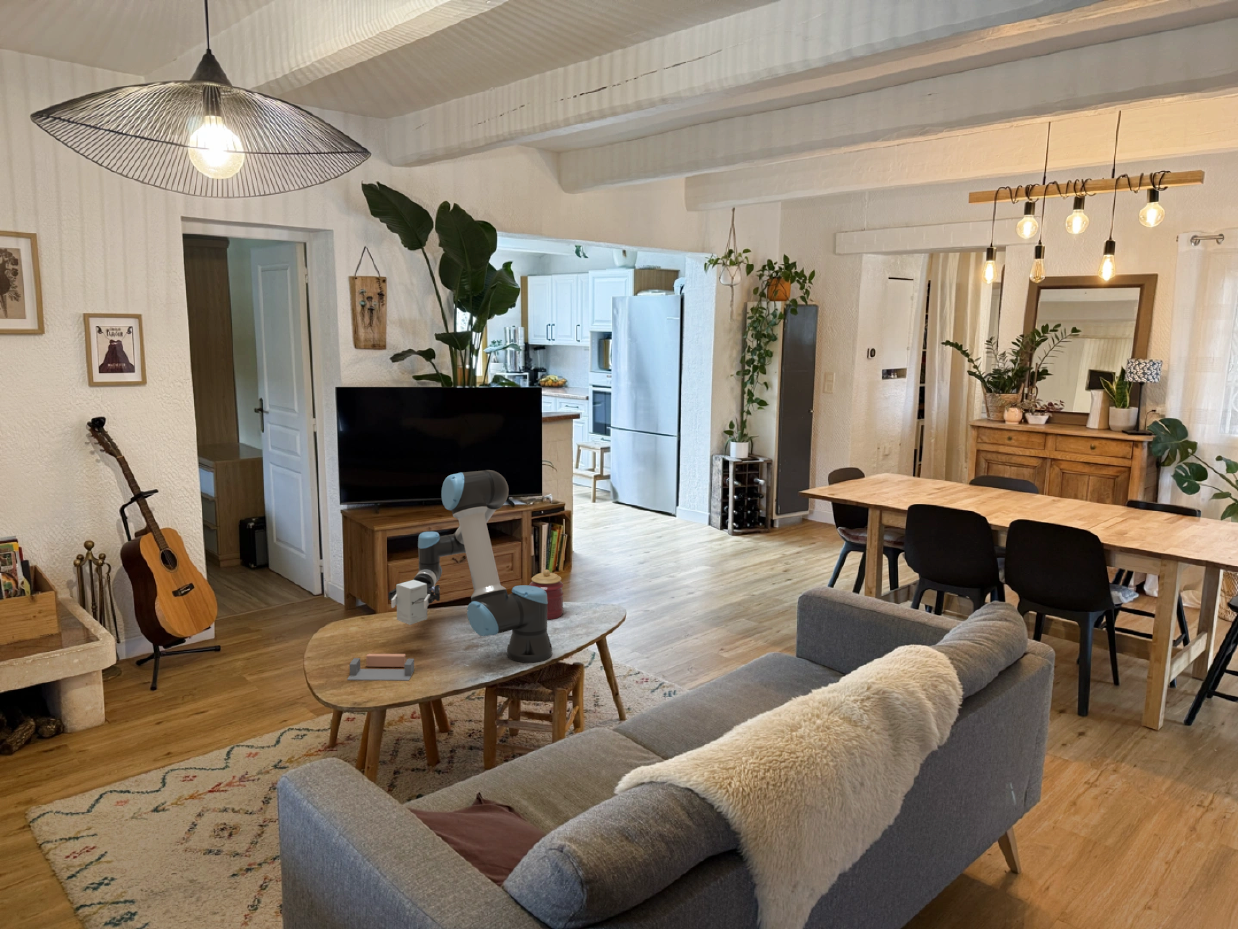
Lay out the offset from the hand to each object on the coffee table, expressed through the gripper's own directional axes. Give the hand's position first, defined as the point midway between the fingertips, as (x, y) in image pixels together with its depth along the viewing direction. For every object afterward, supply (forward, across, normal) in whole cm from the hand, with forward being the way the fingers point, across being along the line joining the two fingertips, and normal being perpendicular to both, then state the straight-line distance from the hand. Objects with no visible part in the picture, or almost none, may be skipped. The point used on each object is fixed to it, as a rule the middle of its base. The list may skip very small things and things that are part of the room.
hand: (408, 604), depth 276 cm
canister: (-42, -42, -18) cm, 62 cm away
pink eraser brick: (+9, +5, -18) cm, 20 cm away
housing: (+15, +5, -18) cm, 24 cm away
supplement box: (-4, 0, -7) cm, 8 cm away
